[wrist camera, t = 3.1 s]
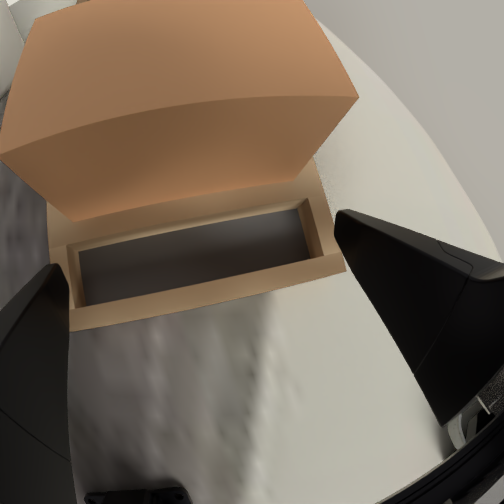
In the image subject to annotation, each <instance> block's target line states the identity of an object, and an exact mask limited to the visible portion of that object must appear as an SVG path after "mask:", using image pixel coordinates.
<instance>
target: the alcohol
mask: <svg viewBox="0 0 504 504" xmlns="http://www.w3.org/2000/svg"><path fill="white" fill-rule="evenodd" d="M24 46H25V44H24V42H23V39H22V37H21V35H20V33H19V30H18V28H17V26H16V24H15V21H14V19H13V17H12V14H11V12H10V9H9V7H8V4H7V2H6V0H0V99H1V98H2V97H3V96H4V95H5V94H6V92H7V91H8V90H9V89H10V87H11V85H12V81H13V78H14V75H15V72H16V68H17V65H18V62H19V59H20V57H21V54H22V51H23V48H24Z"/></svg>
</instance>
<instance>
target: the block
mask: <svg viewBox="0 0 504 504" xmlns="http://www.w3.org/2000/svg"><path fill="white" fill-rule="evenodd" d="M358 98H359V96H358V94H357V92H356V90H355V88H354V86H353V84H352V82H351V80H350V78H349V76H348V74H347V72H346V70H345V68H344V67H343V65H342V63H341V61H340V59H339V58H338V56H337V54H336V52H335V51H334V49H333V47H332V45H331V44H330V42H329V40H328V39H327V37H326V35H325V34H324V32H323V31H322V29H321V27H320V26H319V24H318V23H317V21H316V20H315V18H314V16H313V15H312V13H311V12H310V10H309V9H308V7H307V6H306V5H305V3H304V2H303V0H90V1H87V2H83V3H80V4H76V5H73V6H70V7H67V8H64V9H61V10H58V11H55V12H52V13H50V14H47V15H44V16H42V17H39V18H37V19H35V21H34V23H33V26H32V28H31V30H30V33H29V35H28V38H27V40H26V43H25V46H24V48H23V51H22V54H21V57H20V59H19V62H18V65H17V68H16V72H15V75H14V78H13V81H12V85H11V88H10V92H9V96H8V100H7V104H6V108H5V112H4V117H3V121H2V126H1V131H0V160H1V161H2V162H3V163H4V164H6V165H7V166H8V167H9V168H10V169H11V170H12V171H13V172H14V173H15V174H17V175H18V176H19V177H20V178H21V179H22V180H23V181H24V182H26V183H27V184H28V185H29V186H30V187H31V188H32V189H34V190H35V191H36V192H37V193H38V194H39V195H41V196H42V197H43V198H44V199H45V200H46V201H48V202H49V203H50V204H51V205H52V206H54V207H55V208H56V209H57V210H59V211H60V212H61V213H62V214H63V215H65V216H66V217H67V218H68V219H70V220H71V221H72V222H77V221H81V220H85V219H89V218H93V217H98V216H102V215H106V214H110V213H115V212H119V211H124V210H128V209H133V208H137V207H142V206H147V205H152V204H157V203H161V202H167V201H172V200H177V199H182V198H187V197H193V196H198V195H204V194H210V193H215V192H221V191H227V190H233V189H240V188H246V187H252V186H259V185H266V184H273V183H280V182H287V181H294V179H295V178H296V177H297V176H298V174H299V173H300V172H301V170H302V169H303V168H304V167H305V165H306V164H307V163H308V161H309V160H310V159H311V158H312V156H313V155H314V154H315V153H316V151H317V150H318V149H319V147H320V146H321V145H322V144H323V142H324V141H325V140H326V139H327V137H328V136H329V135H330V134H331V132H332V131H333V130H334V128H335V127H336V126H337V125H338V123H339V122H340V121H341V120H342V118H343V117H344V116H345V115H346V113H347V112H348V111H349V109H350V108H351V107H352V106H353V104H354V103H355V102H356V101H357V99H358Z"/></svg>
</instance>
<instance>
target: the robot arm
mask: <svg viewBox="0 0 504 504" xmlns="http://www.w3.org/2000/svg"><path fill="white" fill-rule="evenodd" d="M334 238H335V240H336V242H337V244H338V246H339V248H340V250H341V252H342V254H343V256H344V257H345V259H346V261H347V263H348V265H349V267H350V269H351V271H352V273H353V274H354V276H355V278H356V279H357V281H358V282H359V284H360V286H361V287H362V289H363V290H364V292H365V293H366V295H367V297H368V298H369V300H370V301H371V303H372V305H373V306H374V308H375V309H376V311H377V313H378V314H379V316H380V318H381V319H382V321H383V323H384V324H385V326H386V328H387V329H388V331H389V333H390V334H391V336H392V338H393V339H394V341H395V343H396V345H397V346H398V348H399V350H400V351H401V353H402V355H403V357H404V358H405V360H406V362H407V364H408V366H409V367H410V369H411V371H412V373H413V374H414V377H415V379H416V380H417V382H418V384H419V386H420V388H421V390H422V391H423V393H424V395H425V397H426V399H427V401H428V403H429V405H430V407H431V409H432V411H433V413H434V415H435V417H436V419H437V421H438V423H439V424H440V426H441V427H444V426H445V425H447V424H448V423H449V422H451V421H452V420H453V419H455V418H456V417H457V416H459V415H460V414H461V413H463V412H464V411H465V410H466V409H468V408H469V407H470V406H471V405H473V404H474V403H475V402H476V401H477V400H479V402H480V403H481V405H482V406H483V407H484V408H483V409H482V410H481V411H480V412H479V413H478V414H476V415H475V416H474V417H473V418H472V419H471V420H470V421H469V422H468V428H467V436H466V443H465V444H464V445H463V446H462V447H461V448H459V449H458V450H457V451H456V452H454V453H453V454H452V455H450V456H449V457H448V458H447V459H445V460H444V461H442V462H441V463H440V464H438V465H437V466H436V467H434V468H433V469H431V470H430V471H428V472H427V473H425V474H424V475H422V476H421V477H419V478H418V479H416V480H415V481H413V482H412V483H410V484H408V485H407V486H405V487H404V488H402V489H400V490H399V491H397V492H395V493H393V494H392V495H390V496H388V497H386V498H385V499H383V500H381V501H379V502H377V503H375V504H504V263H501V262H497V261H495V260H492V259H489V258H486V257H483V256H481V255H478V254H475V253H472V252H469V251H466V250H464V249H461V248H458V247H455V246H453V245H450V244H447V243H445V242H442V241H439V240H436V239H434V238H431V237H429V236H426V235H423V234H421V233H418V232H415V231H412V230H409V229H407V228H404V227H401V226H398V225H395V224H392V223H390V222H387V221H384V220H381V219H378V218H375V217H372V216H369V215H366V214H363V213H359V212H356V211H353V210H350V209H345V210H339V211H338V212H337V213H336V218H335V226H334ZM69 297H70V289H69V284H68V282H67V280H66V277H65V275H64V273H63V271H62V268H61V266H60V265H59V264H58V263H52V264H48V265H46V266H45V267H44V268H43V269H41V270H40V271H39V272H38V273H37V274H36V275H35V276H34V277H33V278H32V279H31V280H30V281H29V282H28V283H27V284H26V285H25V286H24V287H23V288H22V289H21V290H20V291H19V292H18V293H17V294H16V295H15V296H14V297H13V298H12V299H11V300H10V301H9V302H8V303H7V305H6V306H5V307H4V308H3V309H2V310H1V311H0V504H77V500H76V494H75V488H74V481H73V474H72V466H71V462H70V461H71V458H70V447H69V434H68V413H67V371H68V349H69V333H70V322H69ZM175 494H182V495H183V496H176V495H175ZM91 499H93V500H94V501H95V502H94V501H92V500H91ZM84 501H85V503H86V504H193V503H192V500H191V498H190V496H189V494H188V492H187V491H186V489H184V488H182V487H172V488H164V489H155V490H146V489H142V490H127V491H108V492H105V493H87V494H86V495H85V497H84Z"/></svg>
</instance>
